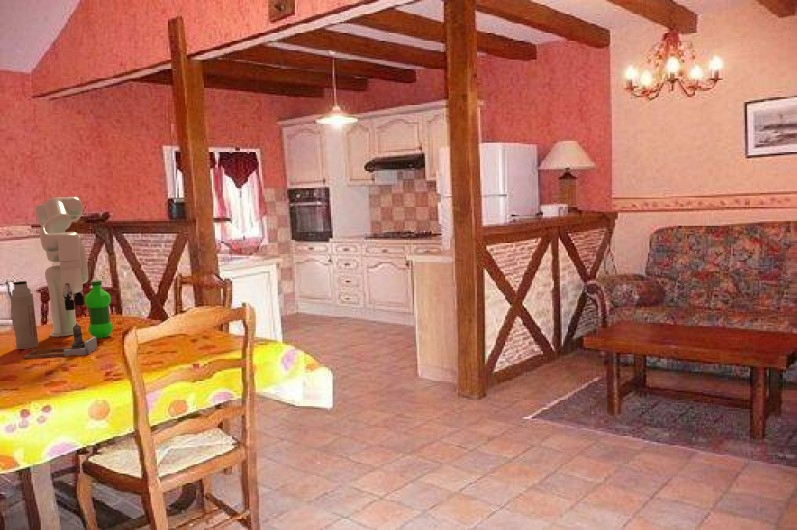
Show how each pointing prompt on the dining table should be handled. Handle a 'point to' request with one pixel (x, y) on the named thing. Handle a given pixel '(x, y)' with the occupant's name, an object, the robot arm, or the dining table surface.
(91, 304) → the plastic bottle
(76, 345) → the dark grey chess piece
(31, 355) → the channel
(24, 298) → the thermos bottle
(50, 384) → the dining table surface
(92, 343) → the socket
